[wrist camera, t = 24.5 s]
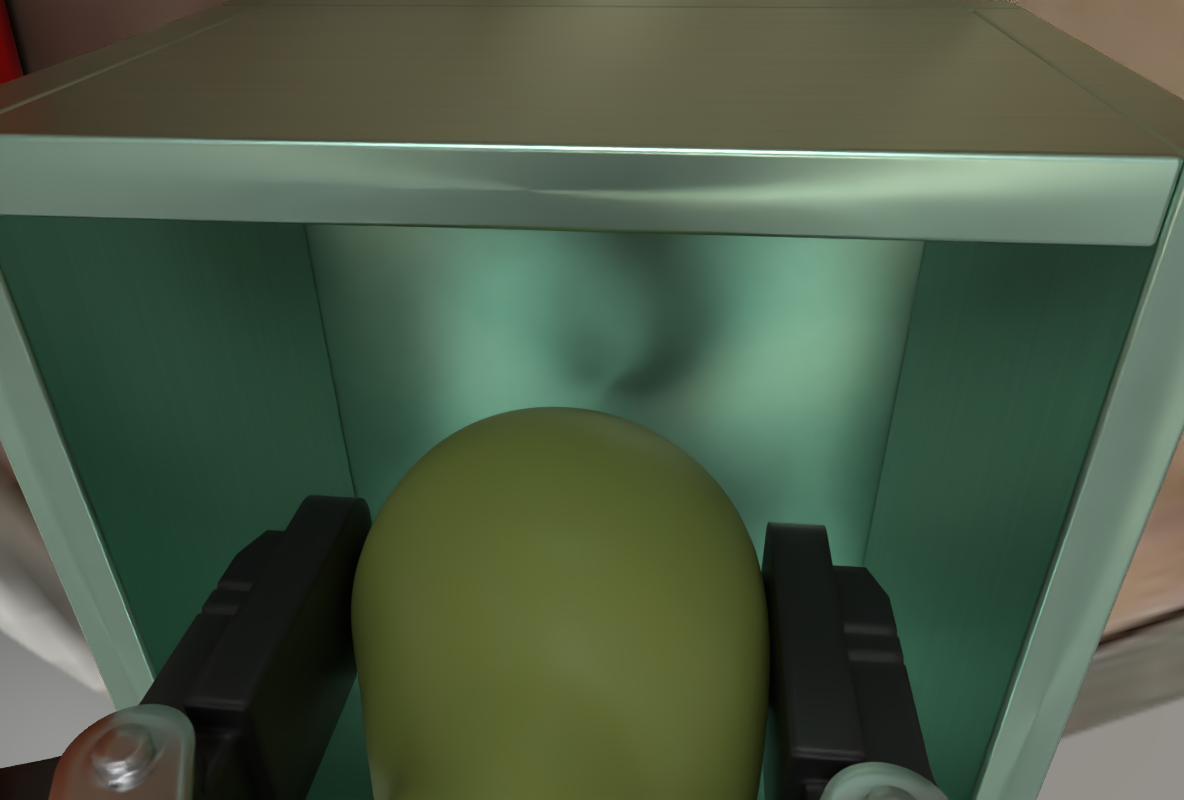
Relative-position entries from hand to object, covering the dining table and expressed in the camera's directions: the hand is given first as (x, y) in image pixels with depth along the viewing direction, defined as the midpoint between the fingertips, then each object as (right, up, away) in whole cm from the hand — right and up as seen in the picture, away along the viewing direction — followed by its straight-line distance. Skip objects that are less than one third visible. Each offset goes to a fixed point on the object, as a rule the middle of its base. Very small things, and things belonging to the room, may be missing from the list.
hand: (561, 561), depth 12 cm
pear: (0, +1, +2) cm, 2 cm away
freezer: (+1, +3, +8) cm, 8 cm away
